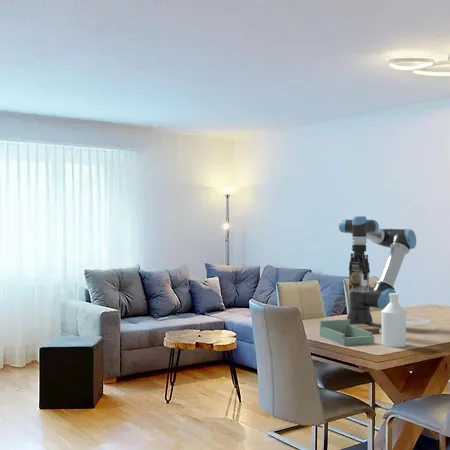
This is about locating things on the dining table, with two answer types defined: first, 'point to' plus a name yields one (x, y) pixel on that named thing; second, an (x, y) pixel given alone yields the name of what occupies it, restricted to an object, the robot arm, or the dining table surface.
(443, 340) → the dining table surface
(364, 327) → the board
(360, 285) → the coffee box
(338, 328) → the frame
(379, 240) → the robot arm
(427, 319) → the dining table surface
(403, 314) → the bottle
